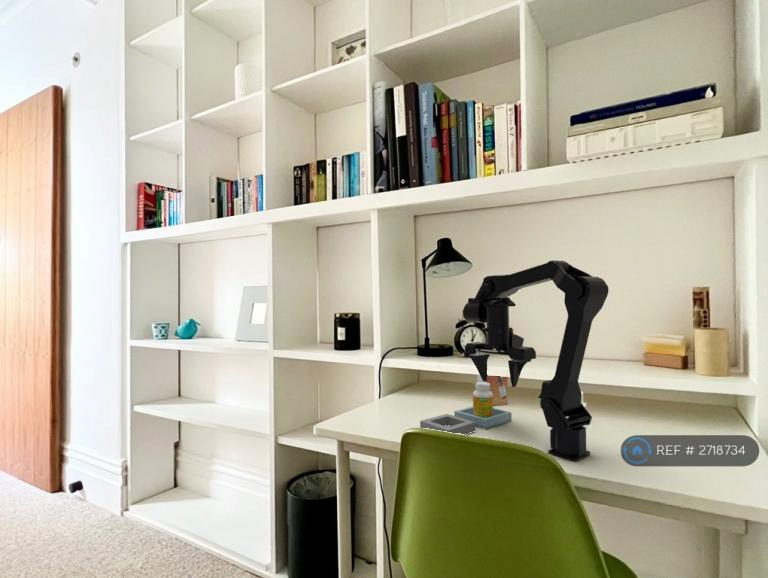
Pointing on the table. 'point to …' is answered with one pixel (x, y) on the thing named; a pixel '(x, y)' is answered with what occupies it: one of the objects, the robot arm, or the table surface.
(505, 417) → the tray
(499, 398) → the small box
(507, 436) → the table surface
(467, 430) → the holder
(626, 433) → the table surface
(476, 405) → the supplement bottle
